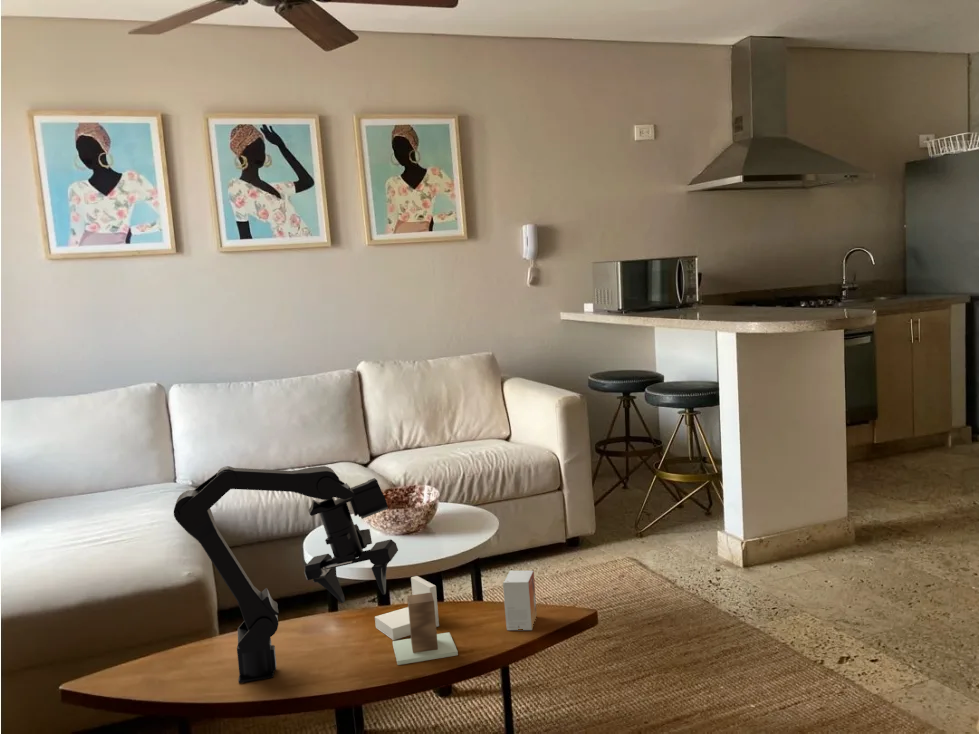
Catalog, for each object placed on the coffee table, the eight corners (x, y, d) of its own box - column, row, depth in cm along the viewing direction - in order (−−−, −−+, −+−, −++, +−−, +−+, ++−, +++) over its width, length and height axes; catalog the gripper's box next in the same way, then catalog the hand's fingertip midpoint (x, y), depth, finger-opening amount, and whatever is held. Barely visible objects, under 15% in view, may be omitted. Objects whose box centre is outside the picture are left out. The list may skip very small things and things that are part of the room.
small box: (532, 631, 168) (528, 582, 167) (506, 630, 169) (502, 582, 168) (537, 616, 176) (534, 569, 175) (512, 616, 177) (509, 569, 176)
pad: (397, 665, 156) (397, 661, 156) (392, 645, 166) (392, 641, 166) (457, 655, 159) (457, 651, 159) (449, 635, 168) (449, 632, 168)
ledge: (393, 640, 168) (389, 598, 168) (375, 627, 176) (372, 587, 175) (439, 626, 174) (435, 585, 173) (420, 614, 182) (416, 575, 181)
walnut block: (412, 652, 159) (408, 604, 159) (411, 643, 164) (407, 595, 163) (437, 649, 160) (434, 600, 159) (435, 639, 165) (431, 592, 164)
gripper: (393, 503, 166) (416, 571, 168) (314, 522, 170) (337, 588, 172) (376, 523, 155) (401, 596, 157) (292, 543, 160) (317, 613, 162)
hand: (363, 597), depth 163 cm, fingers open, 9 cm apart
